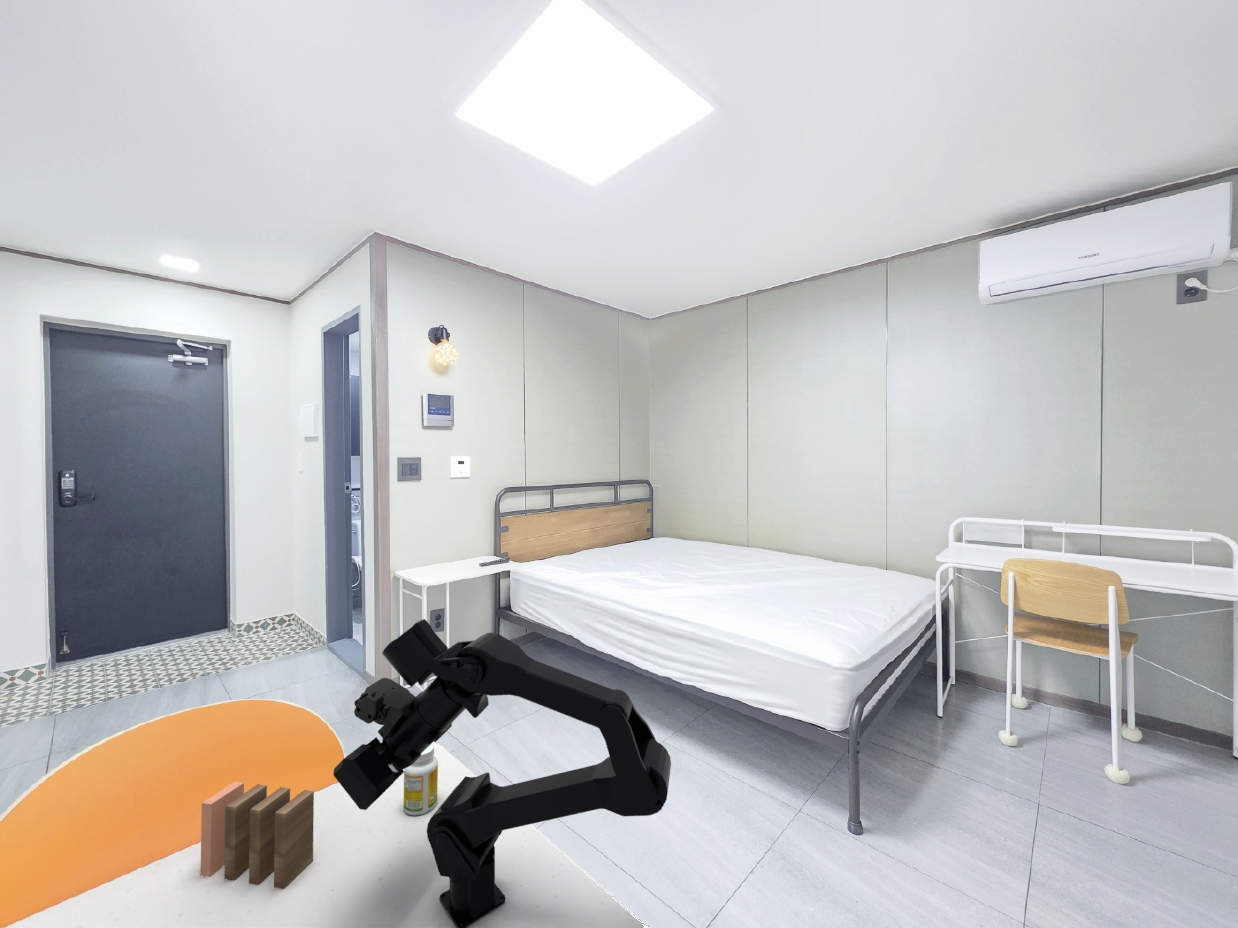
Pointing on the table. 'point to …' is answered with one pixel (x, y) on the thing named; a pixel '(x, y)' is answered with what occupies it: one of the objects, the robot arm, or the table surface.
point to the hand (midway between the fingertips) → (361, 783)
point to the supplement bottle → (421, 783)
